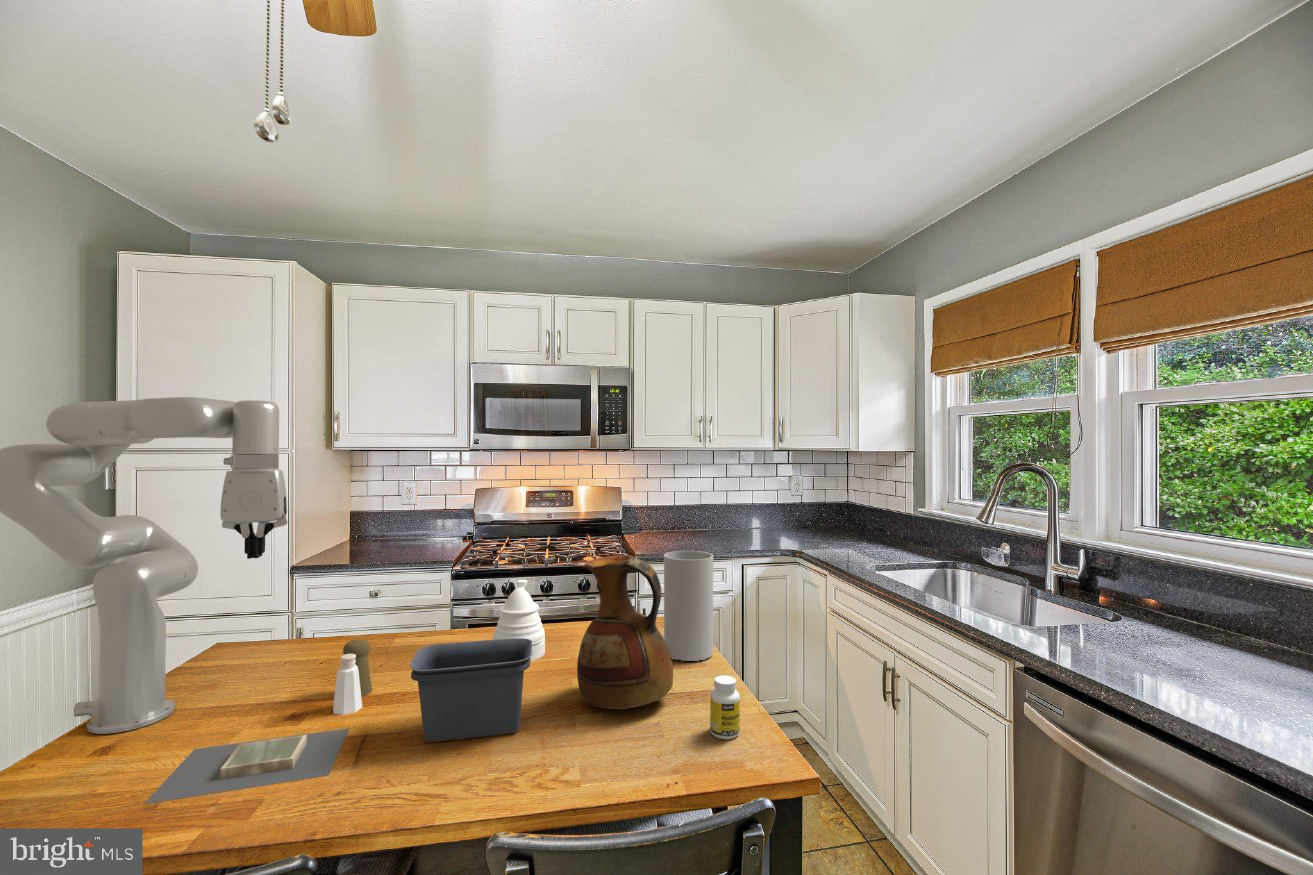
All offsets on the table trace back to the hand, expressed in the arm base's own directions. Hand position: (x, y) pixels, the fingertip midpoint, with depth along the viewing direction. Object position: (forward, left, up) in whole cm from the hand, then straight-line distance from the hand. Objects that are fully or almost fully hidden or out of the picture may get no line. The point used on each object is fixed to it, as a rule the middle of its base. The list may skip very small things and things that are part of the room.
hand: (254, 557), depth 112 cm
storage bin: (+41, -17, -31) cm, 54 cm away
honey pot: (+52, +19, -31) cm, 64 cm away
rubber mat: (+7, -20, -31) cm, 38 cm away
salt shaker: (+17, -3, -31) cm, 36 cm away
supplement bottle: (+85, -34, -31) cm, 97 cm away
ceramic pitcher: (+71, -15, -31) cm, 79 cm away
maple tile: (+3, -20, -30) cm, 36 cm away
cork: (+17, +6, -31) cm, 36 cm away
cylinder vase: (+93, +6, -31) cm, 98 cm away
